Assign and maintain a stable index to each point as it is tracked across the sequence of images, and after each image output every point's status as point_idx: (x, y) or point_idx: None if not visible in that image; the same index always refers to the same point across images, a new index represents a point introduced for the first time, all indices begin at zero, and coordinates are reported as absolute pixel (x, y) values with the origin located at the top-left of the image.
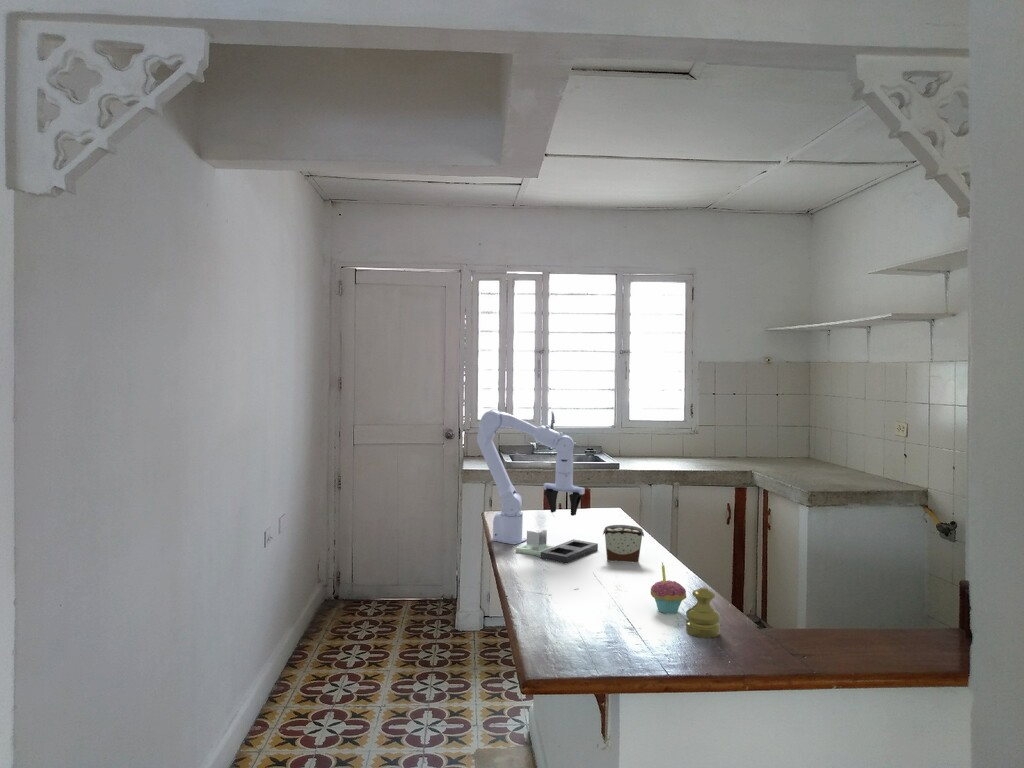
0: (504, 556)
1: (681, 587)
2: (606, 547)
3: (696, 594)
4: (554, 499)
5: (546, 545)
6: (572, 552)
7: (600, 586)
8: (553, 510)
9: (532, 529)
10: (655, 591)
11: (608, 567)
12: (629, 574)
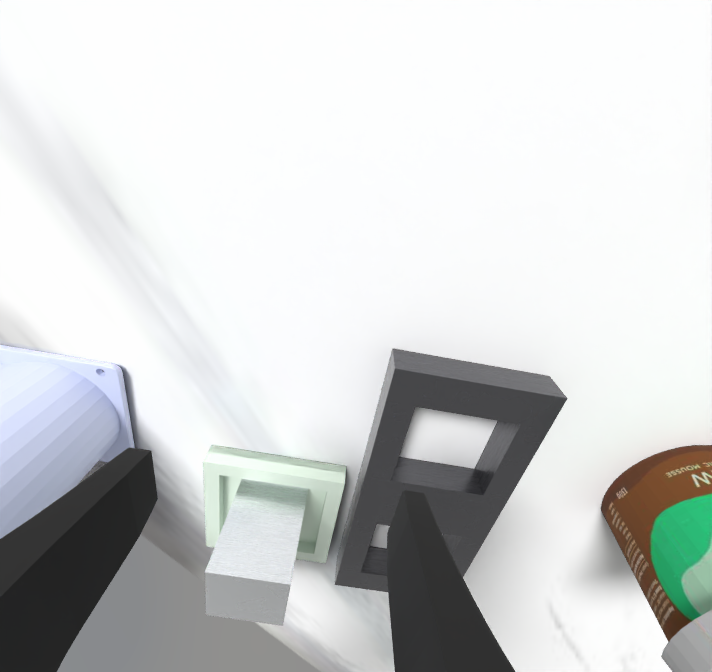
0: None
1: None
2: (636, 574)
3: None
4: (10, 653)
5: (298, 485)
6: (458, 558)
7: (577, 668)
8: (144, 505)
9: (214, 595)
10: None
11: (604, 562)
12: None
